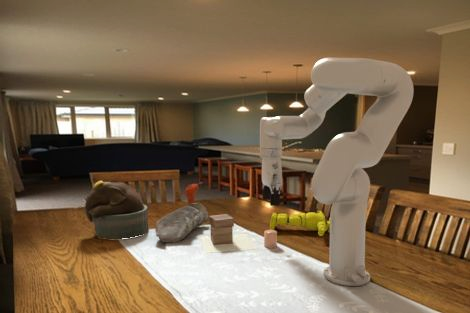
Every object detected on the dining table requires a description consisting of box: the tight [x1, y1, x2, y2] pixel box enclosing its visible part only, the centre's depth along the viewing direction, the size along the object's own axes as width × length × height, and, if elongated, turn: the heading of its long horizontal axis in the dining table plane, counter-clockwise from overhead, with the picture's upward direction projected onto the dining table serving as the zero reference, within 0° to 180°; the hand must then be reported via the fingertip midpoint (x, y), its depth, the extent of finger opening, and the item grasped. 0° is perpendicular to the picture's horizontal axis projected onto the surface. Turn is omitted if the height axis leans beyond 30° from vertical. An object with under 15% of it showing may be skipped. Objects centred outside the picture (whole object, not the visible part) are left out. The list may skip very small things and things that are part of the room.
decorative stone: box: [154, 202, 209, 244], centre depth 147 cm, size 32×15×10 cm, turn 167°
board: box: [200, 233, 259, 254], centre depth 133 cm, size 18×18×1 cm
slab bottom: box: [210, 232, 234, 245], centre depth 134 cm, size 7×7×3 cm
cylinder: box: [263, 229, 278, 249], centre depth 128 cm, size 4×4×6 cm
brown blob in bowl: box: [84, 180, 150, 239], centre depth 148 cm, size 23×25×22 cm
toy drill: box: [184, 181, 203, 205], centre depth 184 cm, size 5×19×15 cm, turn 162°
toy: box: [269, 210, 330, 237], centre depth 149 cm, size 30×9×30 cm
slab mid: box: [210, 225, 234, 237], centre depth 134 cm, size 7×7×3 cm
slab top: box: [208, 213, 235, 229], centre depth 134 cm, size 7×7×3 cm
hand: (270, 202), depth 127 cm, fingers open, 9 cm apart
